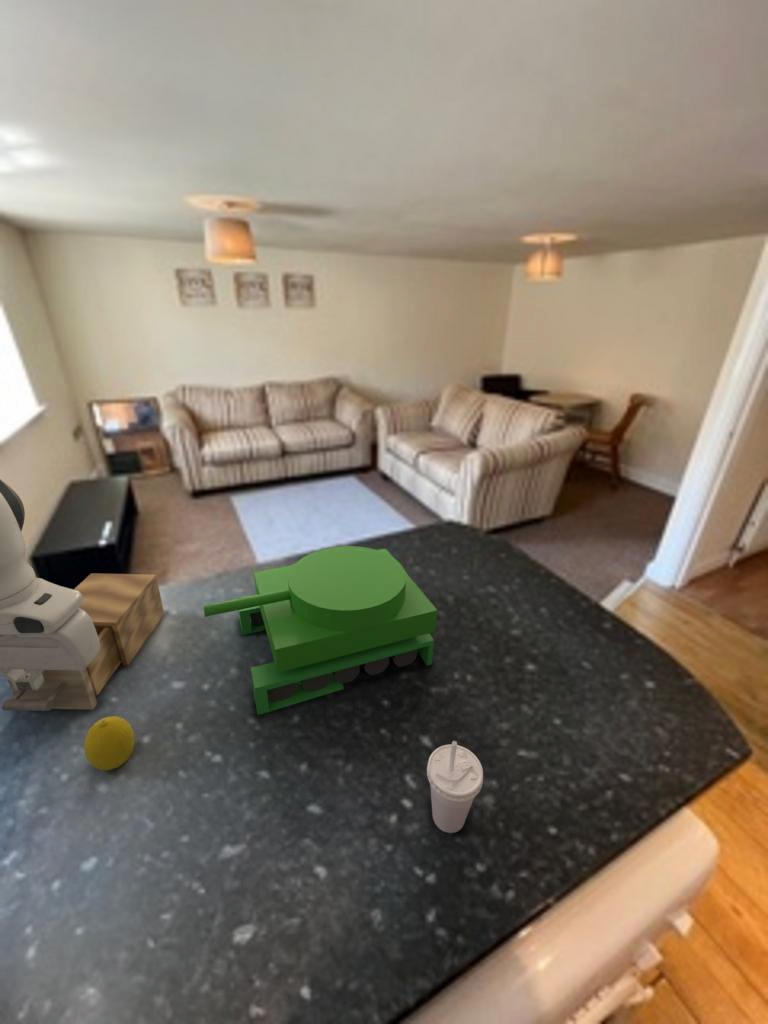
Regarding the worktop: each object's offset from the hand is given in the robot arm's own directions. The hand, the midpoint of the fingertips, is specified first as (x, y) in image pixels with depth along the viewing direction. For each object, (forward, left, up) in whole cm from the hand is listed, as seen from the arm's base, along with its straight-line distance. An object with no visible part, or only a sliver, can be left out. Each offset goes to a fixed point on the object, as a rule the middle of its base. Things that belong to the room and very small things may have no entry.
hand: (30, 686), depth 62 cm
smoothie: (+57, -13, -8) cm, 59 cm away
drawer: (0, +6, -7) cm, 9 cm away
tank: (+37, +17, -8) cm, 42 cm away
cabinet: (0, +18, -8) cm, 20 cm away
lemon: (+13, -6, -8) cm, 17 cm away
